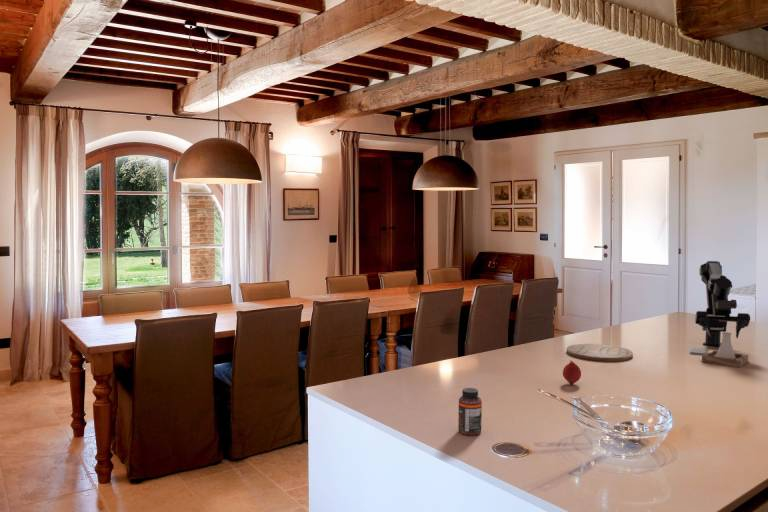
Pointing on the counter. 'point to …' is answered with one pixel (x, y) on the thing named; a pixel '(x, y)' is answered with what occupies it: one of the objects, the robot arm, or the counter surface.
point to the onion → (571, 372)
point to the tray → (725, 359)
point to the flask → (726, 347)
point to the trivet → (599, 352)
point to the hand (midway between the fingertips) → (723, 336)
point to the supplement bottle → (470, 412)
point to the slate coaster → (699, 351)
